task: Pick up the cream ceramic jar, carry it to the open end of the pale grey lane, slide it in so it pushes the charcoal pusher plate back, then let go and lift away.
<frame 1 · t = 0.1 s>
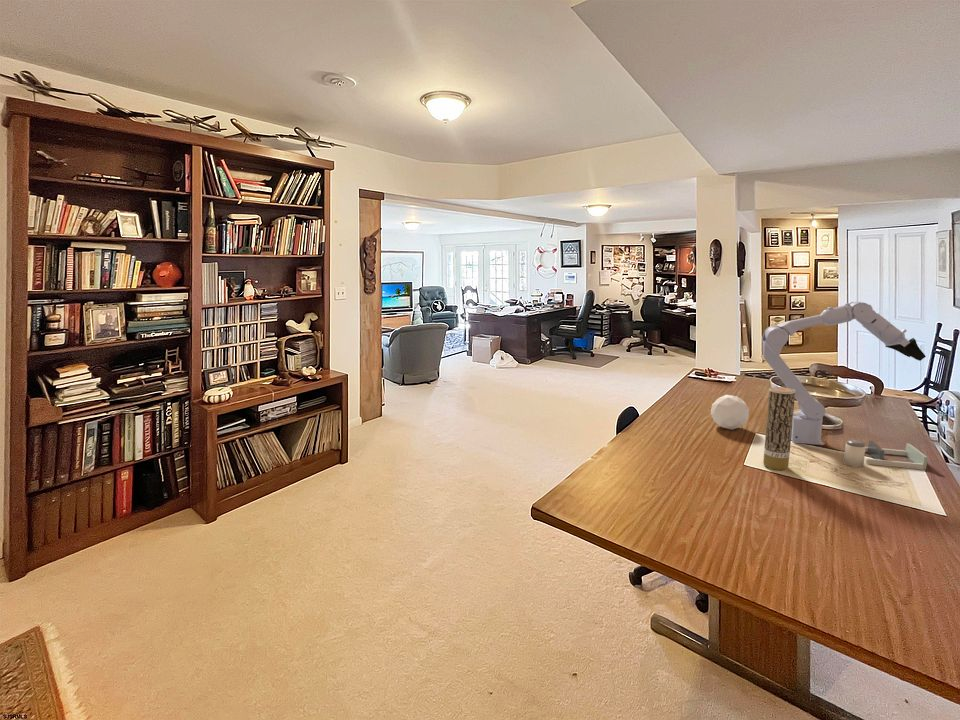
hand: (917, 356, 159), 32 cm above the table, tool tilted 50°, fingers open, 7 cm apart
lane: (886, 459, 157), on the table
jar: (853, 464, 154), on the table
pusher plate: (875, 451, 158), point 2 cm above the table, slide at 0.0 cm
paper tube: (775, 467, 153), on the table
geodesic sphere: (728, 428, 191), on the table
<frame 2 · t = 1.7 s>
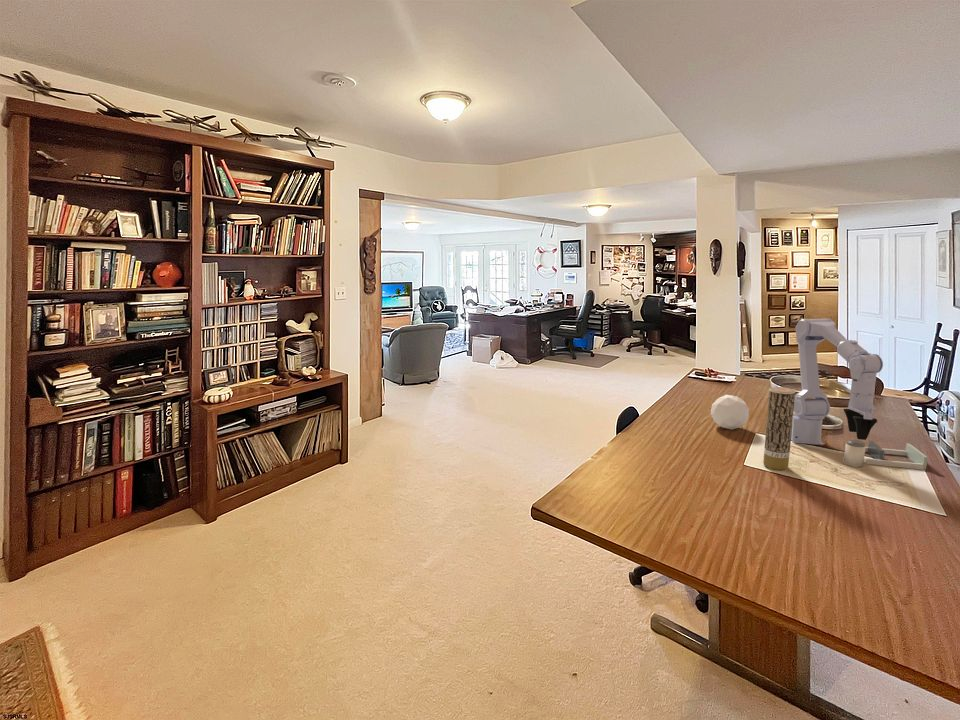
hand: (857, 435, 152), 9 cm above the table, tool pointing down, fingers open, 7 cm apart
nothing on the table moved.
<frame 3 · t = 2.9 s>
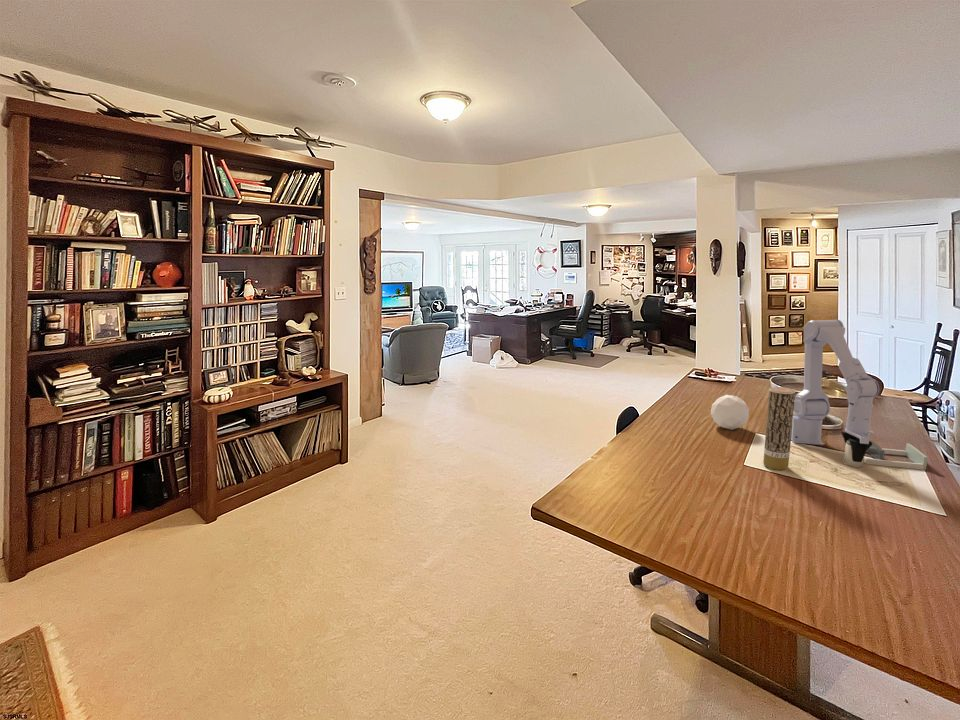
hand: (853, 458, 153), 2 cm above the table, tool pointing down, fingers closed on jar, 5 cm apart
jar: (853, 464, 154), on the table, touching gripper
everything else where it was.
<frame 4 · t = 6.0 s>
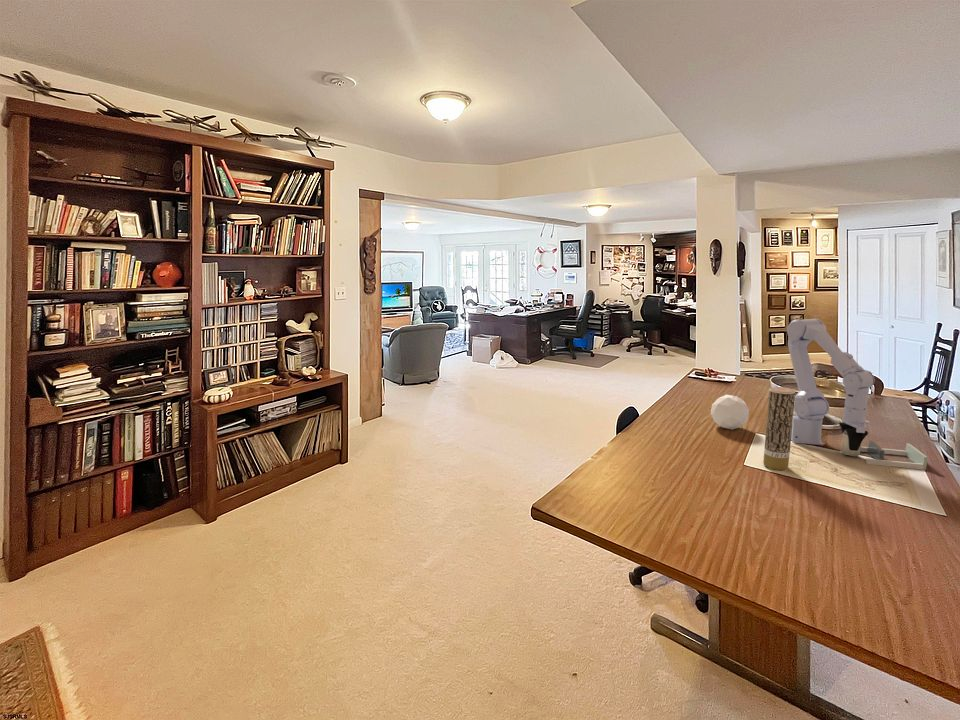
hand: (850, 447, 160), 3 cm above the table, tool pointing down, fingers closed on jar, 5 cm apart
jar: (850, 453, 160), point 1 cm above the table, touching gripper
everything else where it was.
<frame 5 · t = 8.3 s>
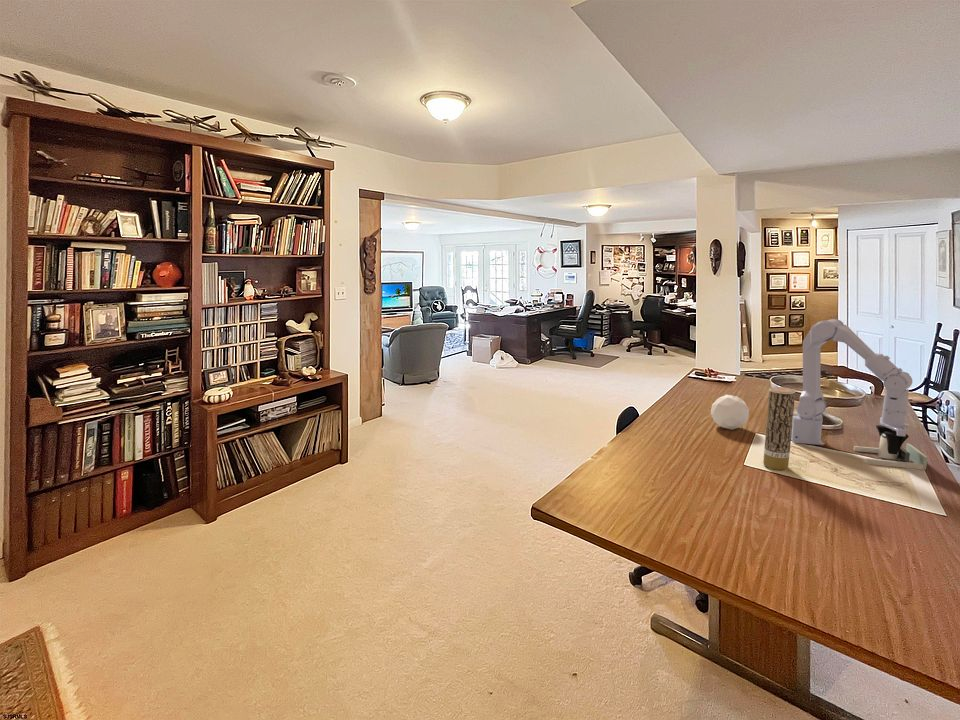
hand: (889, 450, 156), 3 cm above the table, tool pointing down, fingers closed on jar, 5 cm apart
jar: (888, 456, 157), point 1 cm above the table, touching gripper, pusher plate
pusher plate: (900, 453, 155), point 2 cm above the table, slide at 6.4 cm, touching jar
everything else where it was.
when the fingers open (3 cm above the table, at t = 8.8 s): jar stays where it is, resting in lane.
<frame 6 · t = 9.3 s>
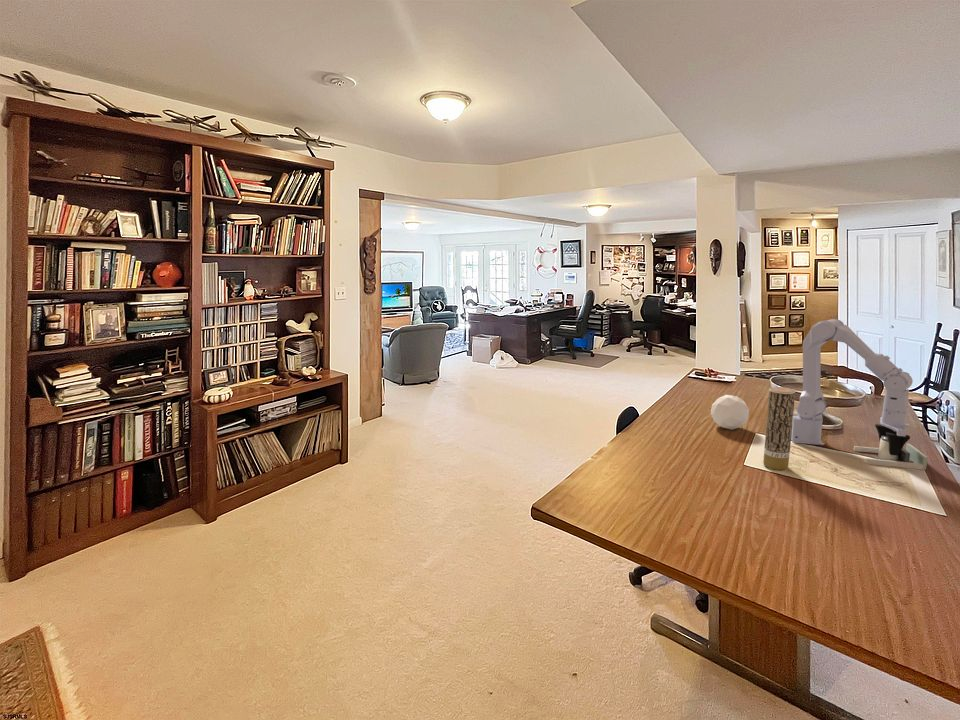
hand: (889, 450, 156), 3 cm above the table, tool pointing down, fingers open, 7 cm apart
jar: (887, 459, 157), resting in lane
pusher plate: (900, 453, 155), point 2 cm above the table, slide at 6.5 cm
everything else where it was.
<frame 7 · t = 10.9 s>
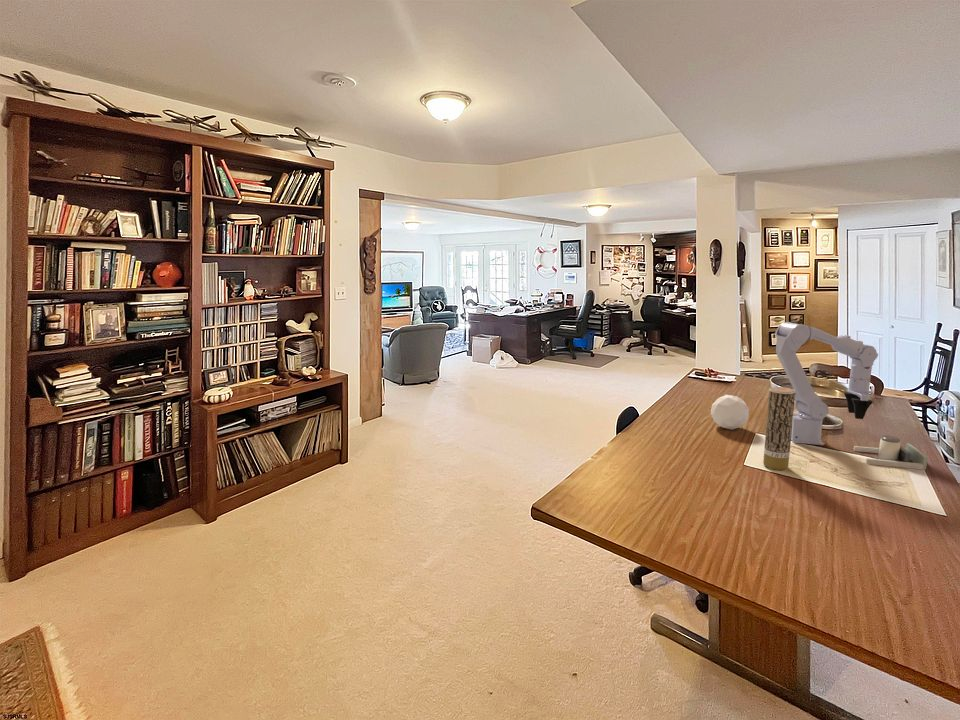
hand: (855, 415, 172), 9 cm above the table, tool pointing down, fingers open, 7 cm apart
nothing on the table moved.
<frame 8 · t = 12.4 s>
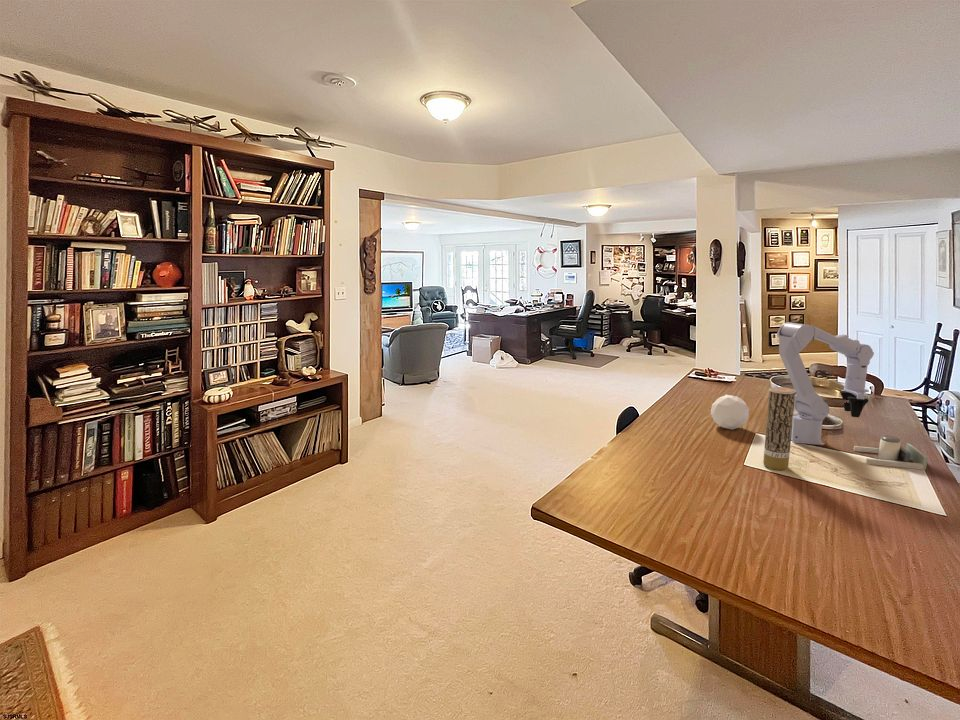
hand: (851, 413, 174), 9 cm above the table, tool pointing down, fingers open, 7 cm apart
nothing on the table moved.
at the end: jar 0.4 cm from the target spot, resting in lane; pusher plate slide at 6.5 cm; jar tilted 0° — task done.
